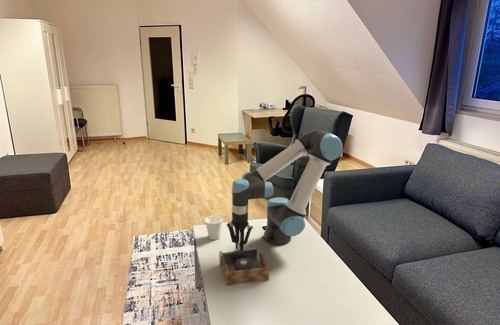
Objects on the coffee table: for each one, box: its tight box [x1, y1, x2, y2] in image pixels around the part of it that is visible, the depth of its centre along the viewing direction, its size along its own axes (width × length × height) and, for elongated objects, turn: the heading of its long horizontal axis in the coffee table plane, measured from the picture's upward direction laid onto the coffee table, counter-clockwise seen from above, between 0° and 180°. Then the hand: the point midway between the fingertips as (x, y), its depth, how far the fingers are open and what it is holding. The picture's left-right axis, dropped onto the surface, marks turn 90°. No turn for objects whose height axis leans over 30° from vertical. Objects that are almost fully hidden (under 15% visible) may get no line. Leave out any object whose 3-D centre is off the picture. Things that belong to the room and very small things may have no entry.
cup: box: [204, 215, 224, 241], centre depth 190 cm, size 10×10×11 cm
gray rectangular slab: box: [218, 247, 258, 267], centre depth 167 cm, size 18×2×7 cm, turn 106°
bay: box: [221, 251, 270, 286], centre depth 159 cm, size 19×14×6 cm
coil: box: [234, 258, 253, 271], centre depth 163 cm, size 8×8×4 cm
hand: (239, 255), depth 170 cm, fingers closed
